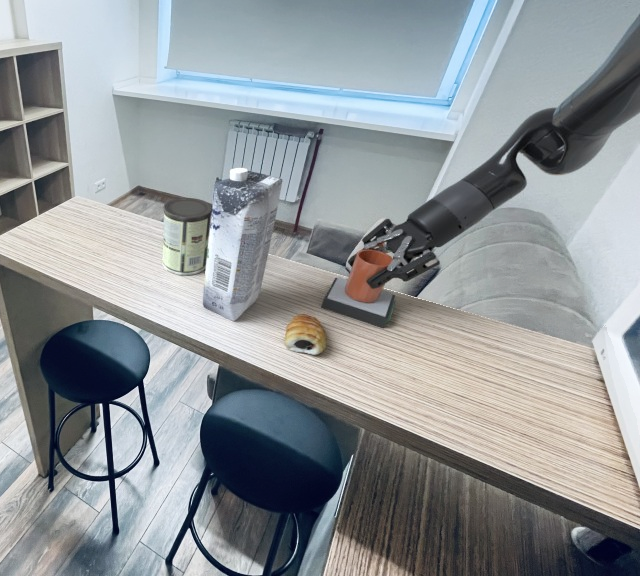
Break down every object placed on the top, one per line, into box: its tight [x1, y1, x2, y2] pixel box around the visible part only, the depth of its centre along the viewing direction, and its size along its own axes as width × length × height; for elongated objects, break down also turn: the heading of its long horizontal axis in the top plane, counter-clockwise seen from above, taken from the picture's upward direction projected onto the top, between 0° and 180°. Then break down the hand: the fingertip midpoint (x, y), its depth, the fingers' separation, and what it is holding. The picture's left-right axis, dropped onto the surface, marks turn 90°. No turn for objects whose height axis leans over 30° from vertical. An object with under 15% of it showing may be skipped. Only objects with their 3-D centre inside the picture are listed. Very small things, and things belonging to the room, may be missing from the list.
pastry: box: [283, 313, 327, 356], centre depth 72 cm, size 9×7×4 cm
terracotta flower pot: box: [345, 249, 393, 302], centre depth 76 cm, size 6×6×8 cm
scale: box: [320, 276, 397, 329], centre depth 79 cm, size 11×9×3 cm
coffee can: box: [161, 197, 213, 276], centre depth 90 cm, size 10×10×14 cm
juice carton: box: [202, 167, 283, 322], centre depth 73 cm, size 9×10×27 cm
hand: (359, 275), depth 76 cm, fingers closed on terracotta flower pot, 6 cm apart
